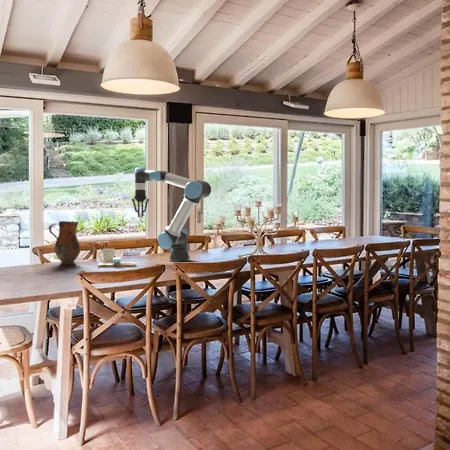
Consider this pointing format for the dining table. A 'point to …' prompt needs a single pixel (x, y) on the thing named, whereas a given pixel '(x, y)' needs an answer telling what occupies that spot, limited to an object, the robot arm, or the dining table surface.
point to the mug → (107, 255)
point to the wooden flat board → (116, 265)
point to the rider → (116, 260)
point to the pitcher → (67, 243)
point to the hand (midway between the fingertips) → (140, 221)
